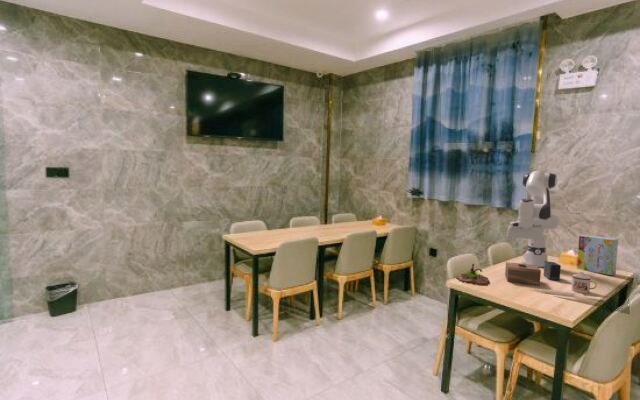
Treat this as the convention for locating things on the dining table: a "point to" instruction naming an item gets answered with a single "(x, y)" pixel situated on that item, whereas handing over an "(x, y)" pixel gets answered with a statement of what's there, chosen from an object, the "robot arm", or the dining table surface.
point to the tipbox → (523, 273)
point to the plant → (473, 277)
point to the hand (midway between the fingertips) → (524, 245)
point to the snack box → (597, 254)
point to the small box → (552, 270)
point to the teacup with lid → (581, 283)
